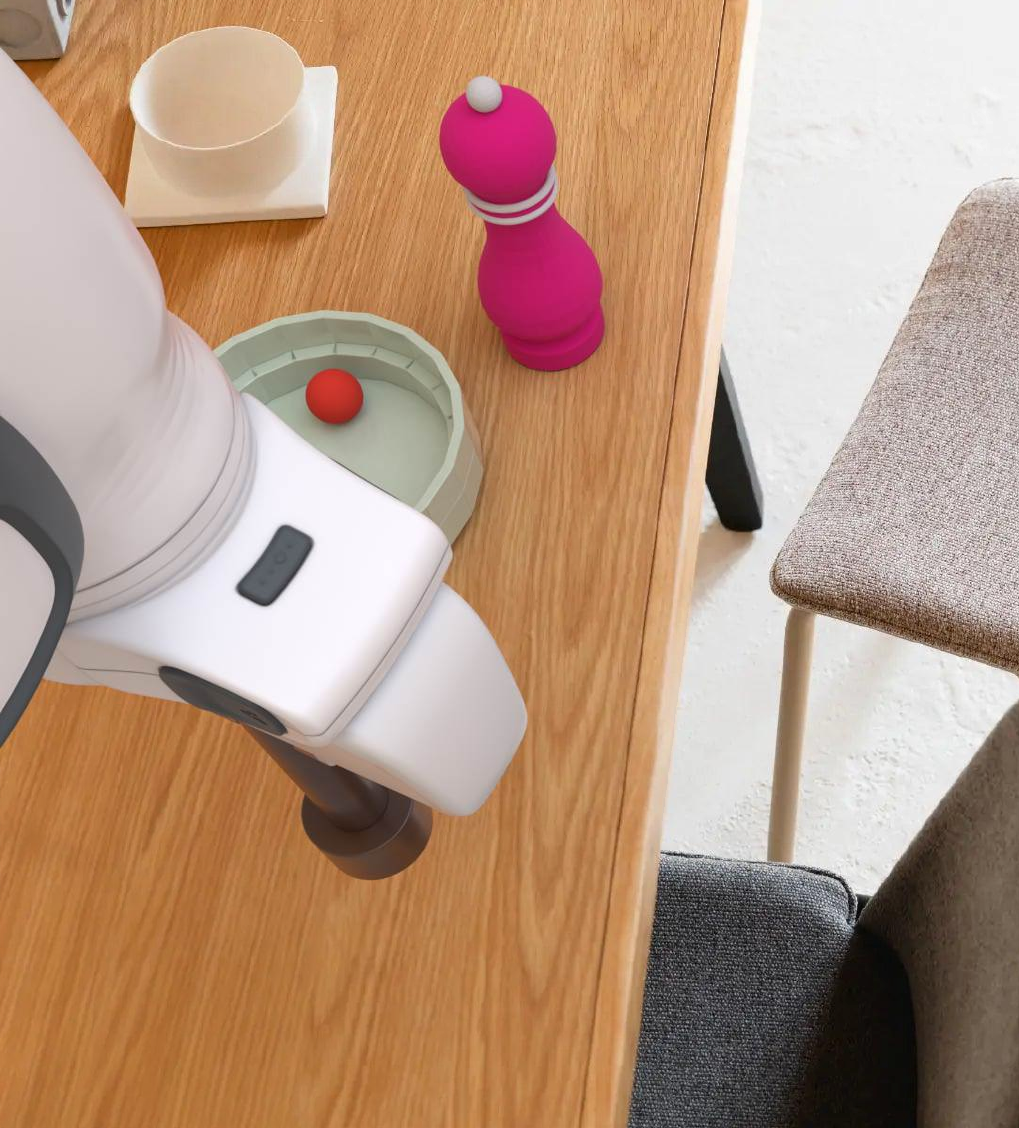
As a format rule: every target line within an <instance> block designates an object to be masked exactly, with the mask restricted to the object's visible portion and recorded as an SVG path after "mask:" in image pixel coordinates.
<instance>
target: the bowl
mask: <svg viewBox="0 0 1019 1128" xmlns="http://www.w3.org/2000/svg"><path fill="white" fill-rule="evenodd" d="M212 351H213V353H214V354H215V356H216V357H217V358H218V360H219V361H220V363H221V365H222V366H223V368H224V369H225V371H226V373H227V374H228V376H229V378H230V380H231V381H232V382H233V384H234V386H235V387H236V389H237V390H238V392H239V394H241V393H243V392H245V393H249V394H251V395H252V396H254V397H255V398H257V399H258V400H259V401H261V402H262V403H263V404H264V405H265V406H267V407H268V408H269V409H270V410H271V411H272V412H274V413H275V414H276V415H277V416H278V417H279V418H280V419H281V420H282V421H283V422H285V423H286V424H287V425H288V426H289V427H290V428H291V429H293V430H294V431H295V432H296V433H297V434H299V435H300V436H301V437H302V438H303V439H305V440H306V441H307V442H309V443H310V444H311V445H313V446H314V447H315V448H316V449H318V450H319V451H321V452H322V453H323V454H325V455H326V456H328V457H330V458H332V459H334V460H335V461H337V462H339V463H340V464H342V465H344V466H345V467H347V468H348V469H350V470H351V471H353V472H355V473H356V474H358V475H359V476H361V477H362V478H364V479H366V480H367V481H369V482H371V483H372V484H374V485H376V486H378V487H379V488H381V489H383V490H384V491H386V492H388V493H389V494H391V495H393V496H395V497H396V498H398V499H399V500H401V501H402V502H403V503H405V504H407V505H409V506H410V507H412V508H414V509H416V510H417V511H419V512H421V513H422V514H424V515H425V516H427V517H428V518H429V519H431V520H432V521H433V522H434V523H435V524H436V525H437V526H438V527H439V528H440V529H441V530H442V532H443V533H444V535H445V536H446V538H447V540H448V542H449V544H450V546H451V547H452V545H453V544H454V543H455V541H456V540H457V538H458V536H459V535H460V533H461V531H462V530H463V529H464V527H465V525H466V524H467V523H468V521H469V519H470V518H471V516H472V515H473V512H474V511H475V507H476V503H477V498H478V494H479V491H480V488H481V483H482V479H483V477H484V471H485V470H484V462H483V453H482V443H481V435H480V432H479V429H478V427H477V424H476V422H475V420H474V417H473V415H472V413H471V410H470V407H469V404H468V402H467V400H466V398H465V394H464V393H463V389H462V388H461V385H460V383H459V382H458V380H457V378H456V376H455V374H454V373H453V371H452V369H451V367H450V366H449V363H448V362H447V360H446V358H445V357H444V355H443V354H442V352H441V351H440V350H438V349H437V348H436V347H434V346H433V345H432V344H431V343H429V341H428V340H426V339H425V338H423V337H422V336H421V335H420V334H419V333H417V332H416V331H415V330H413V329H412V328H410V327H408V326H406V325H403V324H402V323H401V324H400V323H398V322H395V321H392V320H390V319H386V318H384V317H381V316H379V315H376V314H373V313H369V312H358V311H357V312H356V311H343V310H334V309H333V310H332V309H320V310H314V311H307V312H303V313H297V314H291V315H286V316H281V317H280V316H279V317H276V318H273V319H271V320H269V321H266V322H264V323H262V324H259V325H257V326H255V327H252V328H250V329H248V330H245V331H242V332H240V333H238V334H235V335H234V336H231V337H229V338H228V339H227V340H226V341H224V342H223V343H222V344H221V343H220V344H219V345H218V346H217V347H215V349H213V350H212ZM327 369H341V370H344V371H346V372H348V373H350V374H351V375H353V376H354V377H355V378H356V379H357V380H358V382H359V383H360V385H361V387H362V390H363V404H362V407H361V409H360V411H359V413H358V414H357V415H356V416H355V417H354V418H353V419H351V420H350V421H347V422H345V423H341V424H330V423H326V422H323V421H321V420H319V419H318V418H316V417H315V416H314V415H313V414H312V412H311V411H310V410H309V408H308V406H307V403H306V398H305V393H306V388H307V385H308V383H309V381H310V380H311V379H312V377H313V376H315V375H316V374H317V373H319V372H321V371H323V370H327Z"/></svg>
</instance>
